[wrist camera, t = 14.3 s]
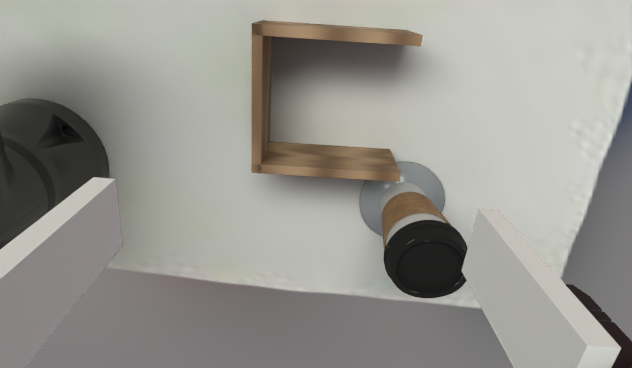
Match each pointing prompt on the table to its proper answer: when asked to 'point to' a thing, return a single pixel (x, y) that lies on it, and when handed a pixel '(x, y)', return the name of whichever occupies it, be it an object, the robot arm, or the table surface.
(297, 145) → the wooden c-shaped bracket
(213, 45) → the table surface
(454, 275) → the coffee cup
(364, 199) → the coaster
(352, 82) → the table surface
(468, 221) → the table surface
